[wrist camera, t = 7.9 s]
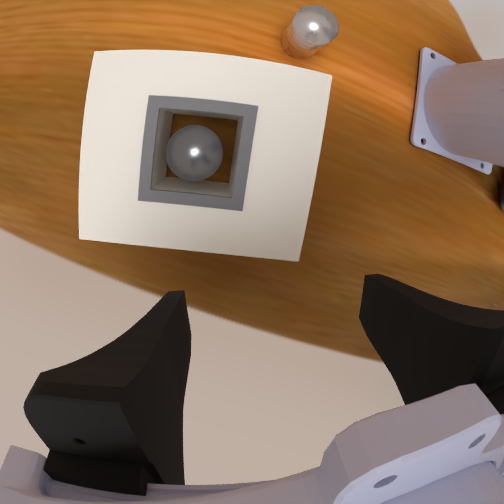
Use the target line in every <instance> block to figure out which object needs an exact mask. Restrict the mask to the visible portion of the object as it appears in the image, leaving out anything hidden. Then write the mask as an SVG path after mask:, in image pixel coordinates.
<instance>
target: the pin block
mask: <svg viewBox="0 0 504 504" xmlns="http://www.w3.org/2000/svg"><path fill="white" fill-rule="evenodd" d="M331 81H332V75H329V74H325V73H321V72H317V71H313V70H309V69H305V68H300V67H296V66H291V65H286V64H281V63H276V62H270V61H265V60H259V59H253V58H246V57H239V56H231V55H223V54H214V53H203V52H190V51H173V50H113V51H95V52H94V56H93V61H92V67H91V72H90V78H89V84H88V90H87V97H86V104H85V112H84V120H83V130H82V140H81V154H80V172H79V239H84V240H94V241H103V242H112V243H122V244H131V245H141V246H150V247H160V248H170V249H179V250H189V251H199V252H208V253H218V254H228V255H238V256H248V257H258V258H268V259H278V260H288V261H298V262H299V257H300V253H301V248H302V243H303V239H304V234H305V229H306V224H307V219H308V214H309V209H310V204H311V199H312V194H313V188H314V183H315V178H316V172H317V167H318V161H319V156H320V150H321V144H322V138H323V132H324V126H325V120H326V114H327V108H328V101H329V95H330V88H331ZM173 114H181V115H193V116H203V117H213V118H222V119H230V120H237V121H238V123H237V130H236V137H235V143H234V150H233V157H232V164H231V171H230V178H229V183H223V182H215V181H206V180H201V181H186V180H183V179H181V178H175V177H166V171H167V161H166V147H167V144H168V141H169V140H170V135H171V128H172V120H173Z"/></svg>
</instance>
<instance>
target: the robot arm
mask: <svg viewBox="0 0 504 504" xmlns="http://www.w3.org/2000/svg"><path fill="white" fill-rule="evenodd" d="M431 55H432V56H433V58H432V57H431ZM421 139H423V144H421ZM410 140H411V143H412V144H413V145H414V146H416V147H419V148H422V149H425V150H428V151H430V152H433V153H436V154H439V155H441V156H444V157H446V158H449V159H452V160H454V161H457V162H459V163H461V164H464V165H466V166H469V167H471V168H473V169H476V170H478V171H480V172H482V173H485V174H490V173H491V171H492V165H493V164H494V165H498V166H502V167H504V59H493V60H484V61H476V62H469V63H462V64H457V63H455V62H453V61H452V60H450V59H448V58H446V57H445V56H443V55H441V54H439V53H437V52H435V51H433V50H431V49H429V48H427V47H425V48H422V49H421V51H420V63H419V75H418V85H417V94H416V102H415V110H414V117H413V124H412V131H411V137H410ZM480 165H481V167H480ZM359 319H360V321H361V323H362V326H363V328H364V330H365V332H366V335H367V337H368V338H369V340H370V341H371V343H372V345H373V346H374V348H375V349H376V351H377V353H378V354H379V356H380V357H381V359H382V360H383V362H384V364H385V365H386V367H387V368H388V370H389V371H390V373H391V375H392V377H393V379H394V380H395V382H396V385H397V387H398V389H399V391H400V394H401V396H402V398H403V401H404V403H405V405H404V406H401V407H398V408H394V409H391V410H387V411H384V412H380V413H377V414H374V415H372V416H370V417H367V418H364V419H362V420H360V421H357V422H355V423H353V424H352V425H350V426H349V427H348V428H346V429H345V430H343V431H342V432H340V433H339V434H337V435H336V436H335V438H334V439H333V441H332V442H331V443H330V445H329V446H328V448H327V449H326V451H325V452H324V455H323V459H322V462H321V465H320V466H319V467H316V468H313V469H310V470H307V471H304V472H301V473H298V474H294V475H291V476H288V477H285V478H280V479H277V480H270V481H261V482H251V483H239V484H222V485H185V480H184V463H183V405H184V396H185V390H186V383H187V377H188V370H189V363H190V357H191V330H190V324H189V318H188V312H187V306H186V299H185V293H184V291H169V292H168V293H166V294H165V295H164V296H163V297H162V299H161V300H160V301H159V302H158V303H157V304H156V305H155V306H154V307H153V308H152V309H151V310H150V311H149V312H148V313H147V314H146V315H145V316H144V317H143V318H141V319H140V320H139V321H138V322H137V323H136V324H135V325H134V326H132V327H131V328H130V329H129V330H128V331H126V332H125V333H124V334H122V335H121V336H120V337H118V338H117V339H116V340H114V341H112V342H111V343H109V344H108V345H106V346H104V347H103V348H101V349H99V350H97V351H95V352H94V353H92V354H90V355H88V356H86V357H83V358H81V359H79V360H77V361H74V362H72V363H69V364H67V365H64V366H61V367H58V368H54V369H51V370H48V371H45V372H41V373H40V375H39V376H38V378H37V379H36V381H35V383H34V385H33V387H32V389H31V390H30V393H29V394H28V396H27V398H26V400H25V402H24V411H25V415H26V417H27V419H28V421H29V423H30V424H31V426H32V427H33V428H34V430H35V431H36V433H37V434H38V435H39V437H40V438H41V439H42V440H43V442H44V443H45V444H46V446H47V447H48V448H49V449H50V451H49V454H48V457H47V458H46V457H44V456H43V455H41V454H39V453H36V452H33V451H30V450H26V449H23V448H19V447H16V446H10V448H9V451H8V453H7V455H6V458H5V460H4V463H3V465H2V467H1V470H0V504H504V311H500V310H490V309H482V308H477V307H472V306H467V305H462V304H458V303H455V302H452V301H448V300H445V299H442V298H439V297H436V296H434V295H431V294H428V293H426V292H423V291H421V290H418V289H416V288H414V287H411V286H409V285H406V284H404V283H402V282H399V281H397V280H395V279H392V278H390V277H387V276H384V275H381V274H372V275H365V279H364V287H363V294H362V301H361V308H360V314H359Z"/></svg>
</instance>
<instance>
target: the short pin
mask: <svg viewBox="0 0 504 504" xmlns="http://www.w3.org/2000/svg"><path fill="white" fill-rule="evenodd" d="M338 30H339V25H338V21H337V19H336V17H335V16H334V15H333V14H332V13H331V12H330V11H329V10H328V9H326V8H324V7H321V6H317V5H308V6H305V7H303V8H301V9H300V10H299V11H298V12H297V13H296V15H295V16H294V18H293V19H292V20H291V22H290V23H289V25H288V26H287V28H286V29H285V31H284V32H283V34H282V36H281V40H280V41H281V46H282V48H283V50H284V51H285V52H286V53H287V54H288V55H290V56H291V57H294V58H297V59H305V58H308V57H310V56H312V55H313V54H314V53H316V52H317V51H318V50H320V49H321V48H322V47H323V46H325V45H326V44H327V43H329V42H330V41H332V40H333V39H334V38H335V37H336V36H337V34H338Z"/></svg>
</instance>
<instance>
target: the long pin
mask: <svg viewBox="0 0 504 504" xmlns="http://www.w3.org/2000/svg"><path fill="white" fill-rule="evenodd" d="M222 158H223V147H222V143H221V141H220V139H219V137H218V136H217V135H216V134H215V133H214V132H213V131H212V130H211V129H209V128H207V127H205V126H201V125H189V126H185V127H183V128H181V129H179V130H178V131H176V132H175V133H174V134H173V135H172V137H171V138H170V140H169V141H168V144H167V147H166V161H167V164H168V166H169V168H170V170H171V171H172V172H173V173H174V174H175V175H176V176H177V177H179V178H181V179H183V180H186V181H201V180H204V179H207V178H208V177H210V176H211V175H213V174H214V173H215V172H216V171H217V169H218V168H219V166H220V164H221V162H222Z"/></svg>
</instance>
